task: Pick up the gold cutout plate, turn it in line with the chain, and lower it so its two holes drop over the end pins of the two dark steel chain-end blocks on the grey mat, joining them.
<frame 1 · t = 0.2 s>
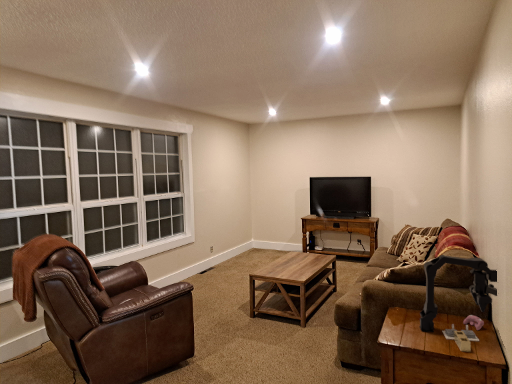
hand: (480, 308, 193), 14 cm above the table, fingers open, 9 cm apart
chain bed: (460, 336, 192), on the table
gold cutout plate: (462, 345, 183), on the table
video game controller: (473, 326, 202), on the table
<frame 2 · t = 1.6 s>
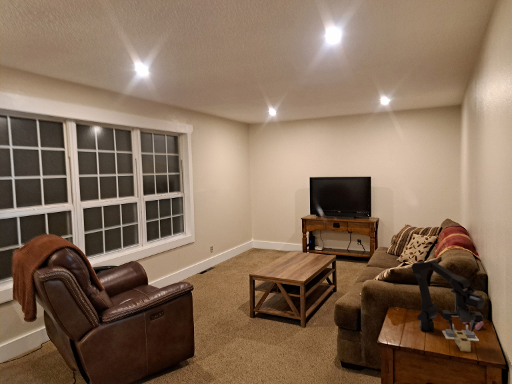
hand: (461, 331, 182), 8 cm above the table, fingers open, 9 cm apart
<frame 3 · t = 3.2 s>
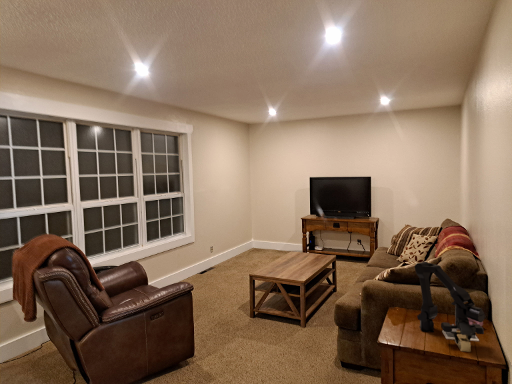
hand: (462, 343, 183), 1 cm above the table, fingers closed on gold cutout plate, 4 cm apart
gold cutout plate: (462, 345, 183), on the table, touching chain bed, gripper
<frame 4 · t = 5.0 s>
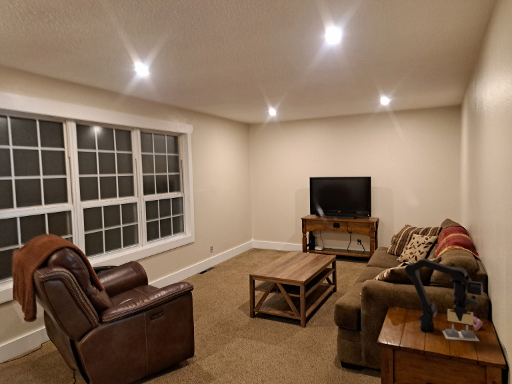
hand: (460, 319, 189), 11 cm above the table, fingers closed on gold cutout plate, 4 cm apart
gold cutout plate: (460, 321, 189), point 10 cm above the table, touching gripper
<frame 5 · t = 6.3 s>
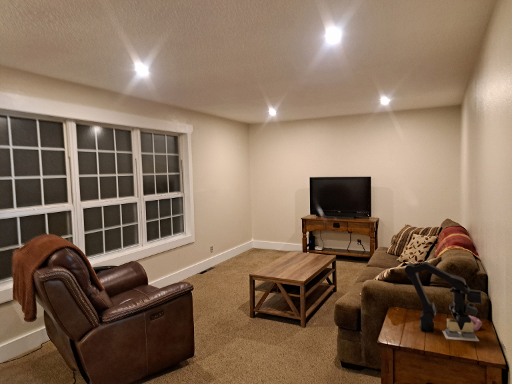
hand: (459, 327, 192), 5 cm above the table, fingers closed on gold cutout plate, 4 cm apart
gold cutout plate: (459, 329, 192), point 4 cm above the table, touching gripper
when the fingers open (5 cm above the table, at t = 7.0 s): gold cutout plate drops 1 cm, resting on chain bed.
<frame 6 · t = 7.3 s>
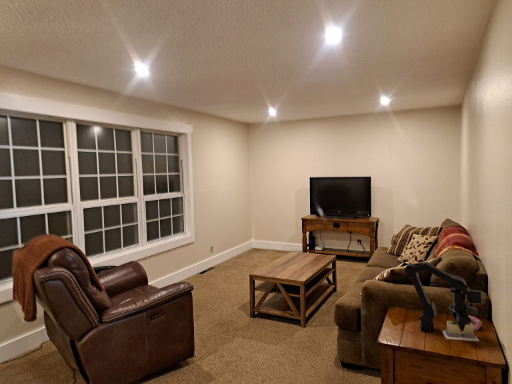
hand: (459, 328, 192), 5 cm above the table, fingers open, 7 cm apart
gold cutout plate: (460, 331, 192), point 2 cm above the table, touching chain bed
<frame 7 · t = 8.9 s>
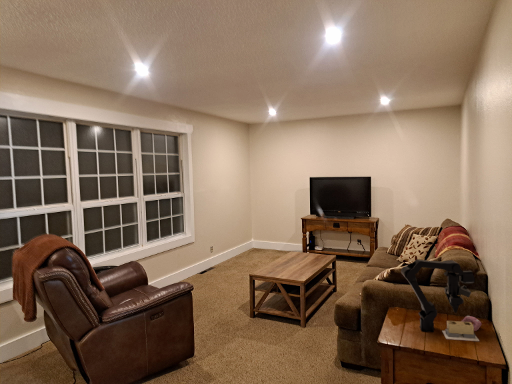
hand: (453, 309, 199), 12 cm above the table, fingers open, 9 cm apart
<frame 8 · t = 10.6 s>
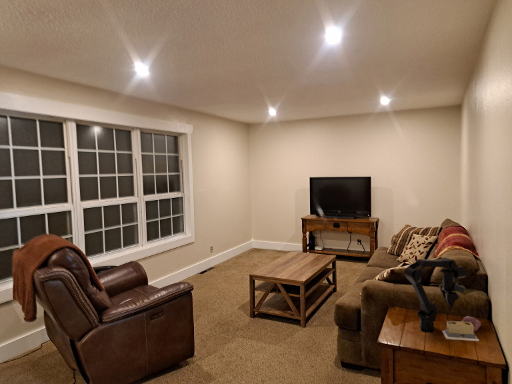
hand: (448, 305, 205), 12 cm above the table, fingers open, 9 cm apart
at the end: gold cutout plate 0.0 cm off-centre on the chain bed, point 2.4 cm above the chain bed's base; gold cutout plate tilted 0°; the gripper is holding nothing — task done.
